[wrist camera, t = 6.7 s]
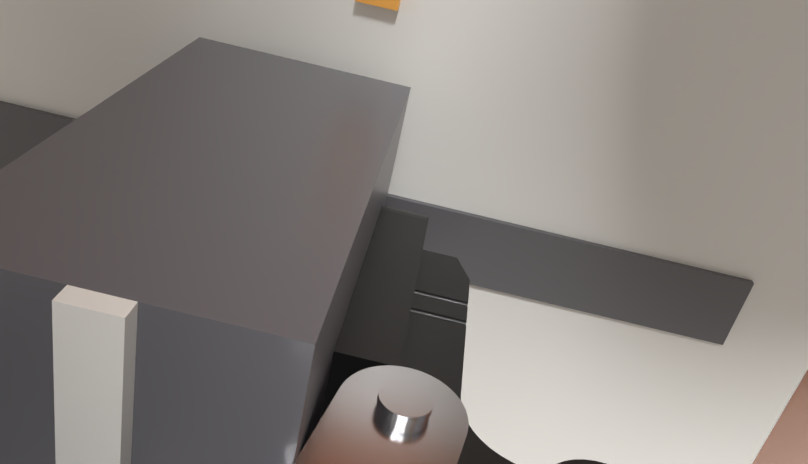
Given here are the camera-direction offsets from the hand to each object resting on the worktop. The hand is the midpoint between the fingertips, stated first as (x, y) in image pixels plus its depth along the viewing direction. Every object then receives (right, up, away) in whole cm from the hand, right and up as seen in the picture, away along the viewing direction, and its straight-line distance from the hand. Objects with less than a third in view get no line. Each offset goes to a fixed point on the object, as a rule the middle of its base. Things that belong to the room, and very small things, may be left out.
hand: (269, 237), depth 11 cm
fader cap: (0, 0, +1) cm, 1 cm away
